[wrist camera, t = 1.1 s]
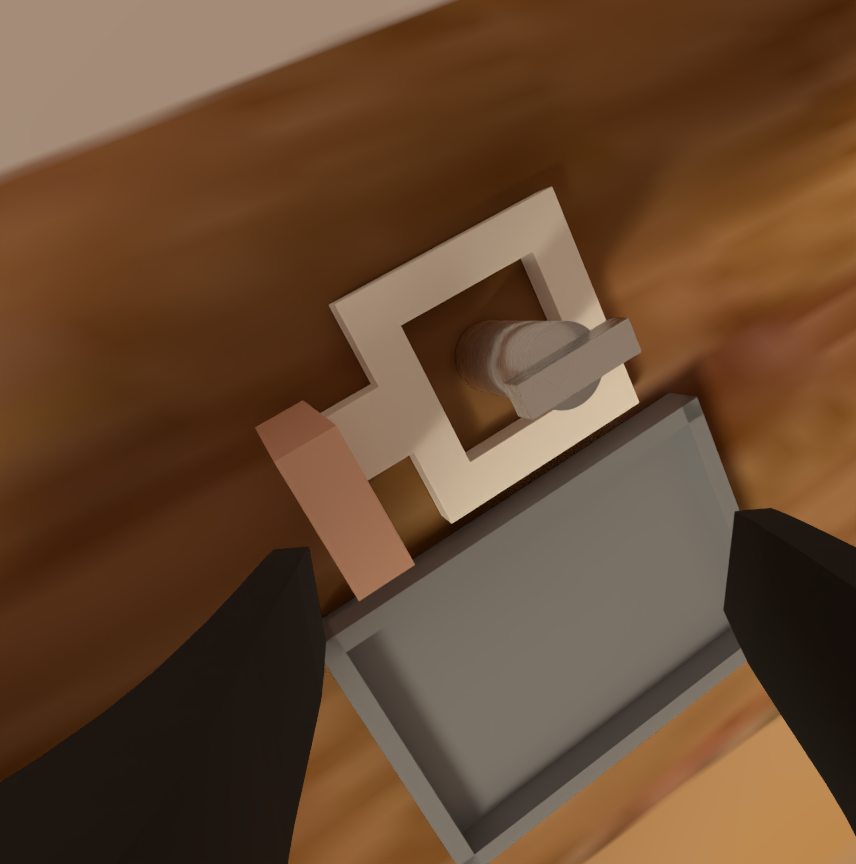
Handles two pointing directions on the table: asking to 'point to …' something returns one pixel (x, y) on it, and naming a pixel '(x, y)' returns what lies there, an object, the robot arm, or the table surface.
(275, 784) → the robot arm
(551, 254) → the square frame with handle
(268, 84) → the table surface
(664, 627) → the tray
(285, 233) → the table surface
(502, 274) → the table surface
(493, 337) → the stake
